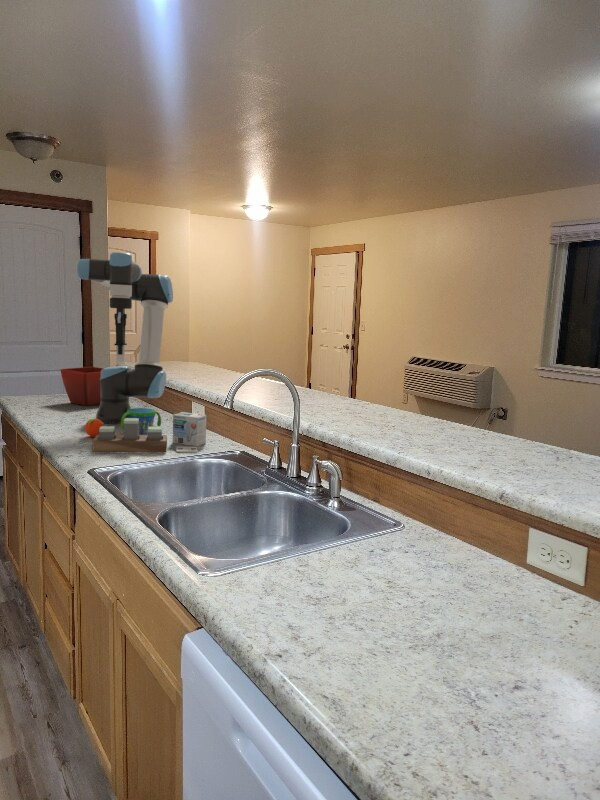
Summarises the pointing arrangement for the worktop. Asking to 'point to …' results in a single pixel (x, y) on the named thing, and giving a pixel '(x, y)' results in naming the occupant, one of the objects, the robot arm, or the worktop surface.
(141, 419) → the snack cup
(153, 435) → the button far
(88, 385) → the plant pot
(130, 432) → the button mid
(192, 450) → the card
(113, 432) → the button near
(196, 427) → the light bulb box
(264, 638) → the worktop surface
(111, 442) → the button board
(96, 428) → the tomato
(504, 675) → the worktop surface
